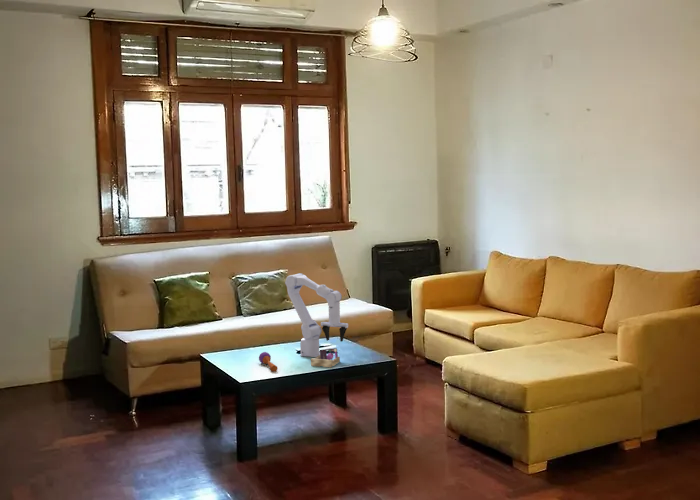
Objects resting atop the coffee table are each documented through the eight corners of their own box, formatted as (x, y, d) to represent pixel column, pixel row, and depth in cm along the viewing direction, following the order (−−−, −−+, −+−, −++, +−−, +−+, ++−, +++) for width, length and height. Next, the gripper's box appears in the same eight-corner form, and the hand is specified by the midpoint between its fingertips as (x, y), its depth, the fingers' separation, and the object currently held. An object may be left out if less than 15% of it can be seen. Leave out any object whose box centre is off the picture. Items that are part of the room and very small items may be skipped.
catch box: (311, 365, 382) (310, 358, 382) (319, 359, 393) (319, 353, 392) (331, 367, 378) (331, 360, 378) (339, 361, 389) (339, 354, 388)
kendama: (267, 364, 371) (256, 352, 389) (269, 376, 372) (258, 363, 390) (278, 361, 373) (267, 349, 391) (281, 372, 374) (269, 359, 392)
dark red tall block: (320, 349, 387) (337, 348, 390) (317, 350, 392) (334, 349, 395) (321, 363, 386) (338, 361, 388) (319, 364, 390) (335, 362, 393)
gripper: (318, 315, 391) (318, 341, 393) (344, 317, 386) (345, 343, 388) (323, 312, 398) (324, 338, 399) (349, 314, 393) (350, 340, 394)
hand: (334, 340), depth 394 cm, fingers open, 7 cm apart
